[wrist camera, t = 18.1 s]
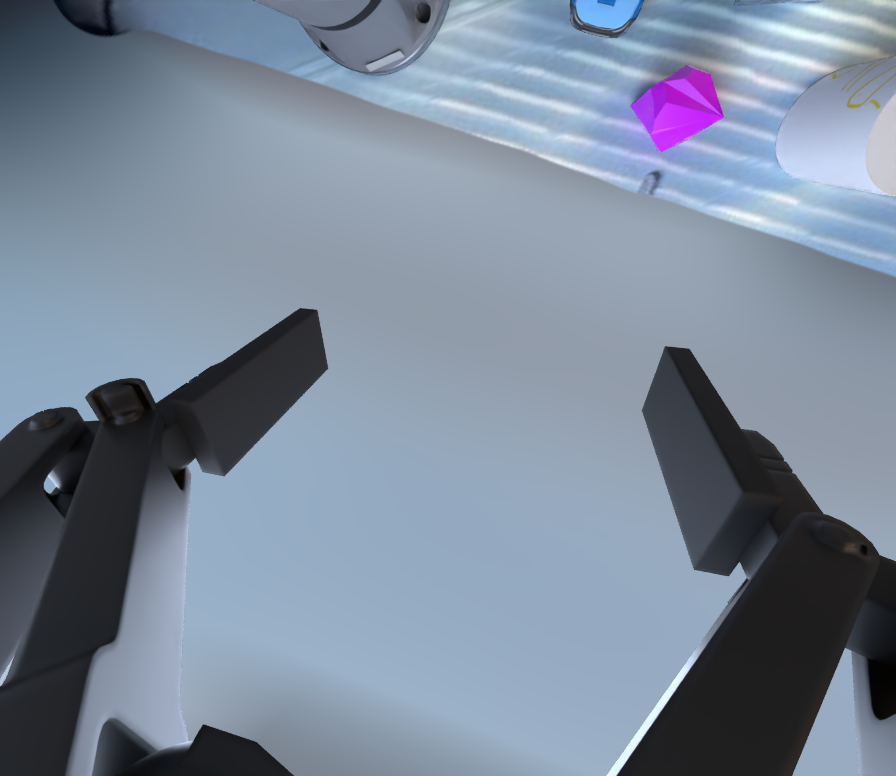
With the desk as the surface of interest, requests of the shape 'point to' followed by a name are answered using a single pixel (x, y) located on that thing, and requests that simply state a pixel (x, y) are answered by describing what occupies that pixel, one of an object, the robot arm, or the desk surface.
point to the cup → (844, 130)
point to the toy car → (604, 16)
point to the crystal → (678, 107)
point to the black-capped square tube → (770, 1)
